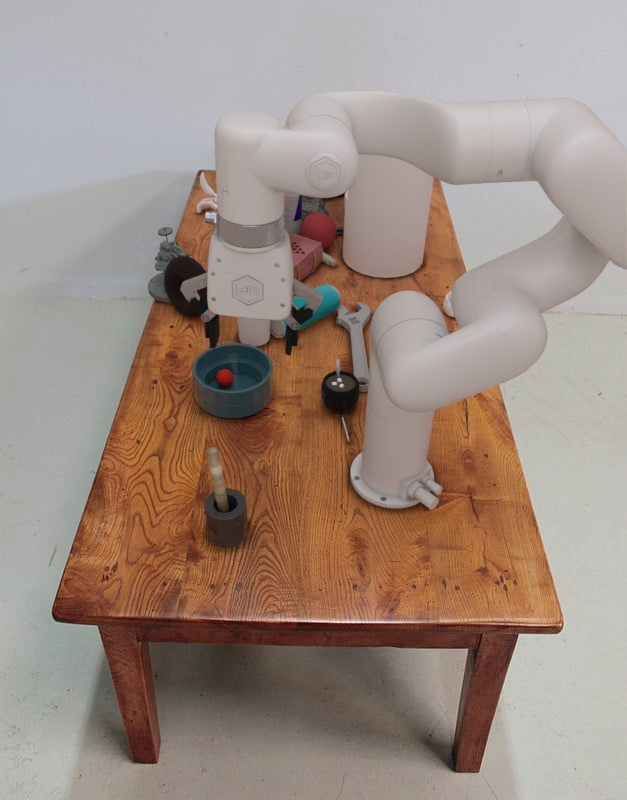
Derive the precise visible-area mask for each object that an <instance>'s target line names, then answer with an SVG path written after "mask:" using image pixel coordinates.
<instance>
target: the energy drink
mask: <svg viewBox="0 0 627 800" xmlns="http://www.w3.org/2000/svg"><path fill="white" fill-rule="evenodd" d="M302 222H303V220H302V195H299V194H294V193H289V192H284V224H286V225H287V226H289V227H290V229H291V231H292V234H295V235H298V236H301V234H300V228H301V224H302Z"/></svg>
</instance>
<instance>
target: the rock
mask: <svg viewBox="0 0 627 800" xmlns="http://www.w3.org/2000/svg"><path fill="white" fill-rule="evenodd" d="M323 200H324V199H322V198H315V197H309V196H304V195H302V221H303V220H304V219H305V218H306V217H307V216H308V215H310V214H313V213H323V214H326V215H328V216H330V213H329V210H328V209H326V203H325V202H324V201H323Z"/></svg>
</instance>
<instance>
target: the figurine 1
mask: <svg viewBox="0 0 627 800" xmlns="http://www.w3.org/2000/svg"><path fill="white" fill-rule="evenodd" d="M173 231H174V230H173V228H172V227H170V226H164V227H161V228H159V229H158V230H157V235H158V236H161V237H165V239H166V240H165V239H164V240H163V241H161V242H159V243H160V244H159V251H158V252H157V256H155V257H154V261H156V262H155V263H154V269H155V271H157V272H159V271H160V273H157V274H156V275H154V276H153V277H151V279H150V280H149V281H148V283H147V290H148V294H149V295H150V297H151V298H152V299H154V300H155V301H158V302H162V303H165V304H166V303H167V304H172V303H171V302H170V300H169V298H168V296H167V293H166V290H165V284H164V274H165V271H166V267H167V265H168V264H169V263H170V261H171V260H173V259H174V258H176V257H178V256H188V257H191V254H190V253H186V251H184V249H183V248H182V247H181V246H179V243H178V241H177V240H174V241H169V239H168V236H170V235H172V234H173ZM185 281H186V279H185ZM156 294H157V295H156Z"/></svg>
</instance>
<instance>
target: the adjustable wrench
mask: <svg viewBox="0 0 627 800" xmlns="http://www.w3.org/2000/svg"><path fill="white" fill-rule="evenodd" d="M355 308H356V310H357V311H356V312H352V313H350V311H349V310H348V308H347V307H346V306H345V305H344V304H342V305H340V306H339V307H338V309H337V316H336V322H335V323H336V324H337V325H339V326H342V327H343V328H344V329H345V330H347V331H348V333H349V337H350V349H351V350H350V351H351V361H352V363H351V364H352V374H353V375H354V376H355V377H356V378H357V379H358V381H359V393H366V392H368V383H369V364H368V358H367V352H366V346H365V340H364V334H363V333H364V332H363V330H364V329H365V326H366V325H367V324H368V322H369V321H370V319H371V308H370V307H369V306H368V305H367V304H366V303H364V302H361V301H357V302H356V305H355Z"/></svg>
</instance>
